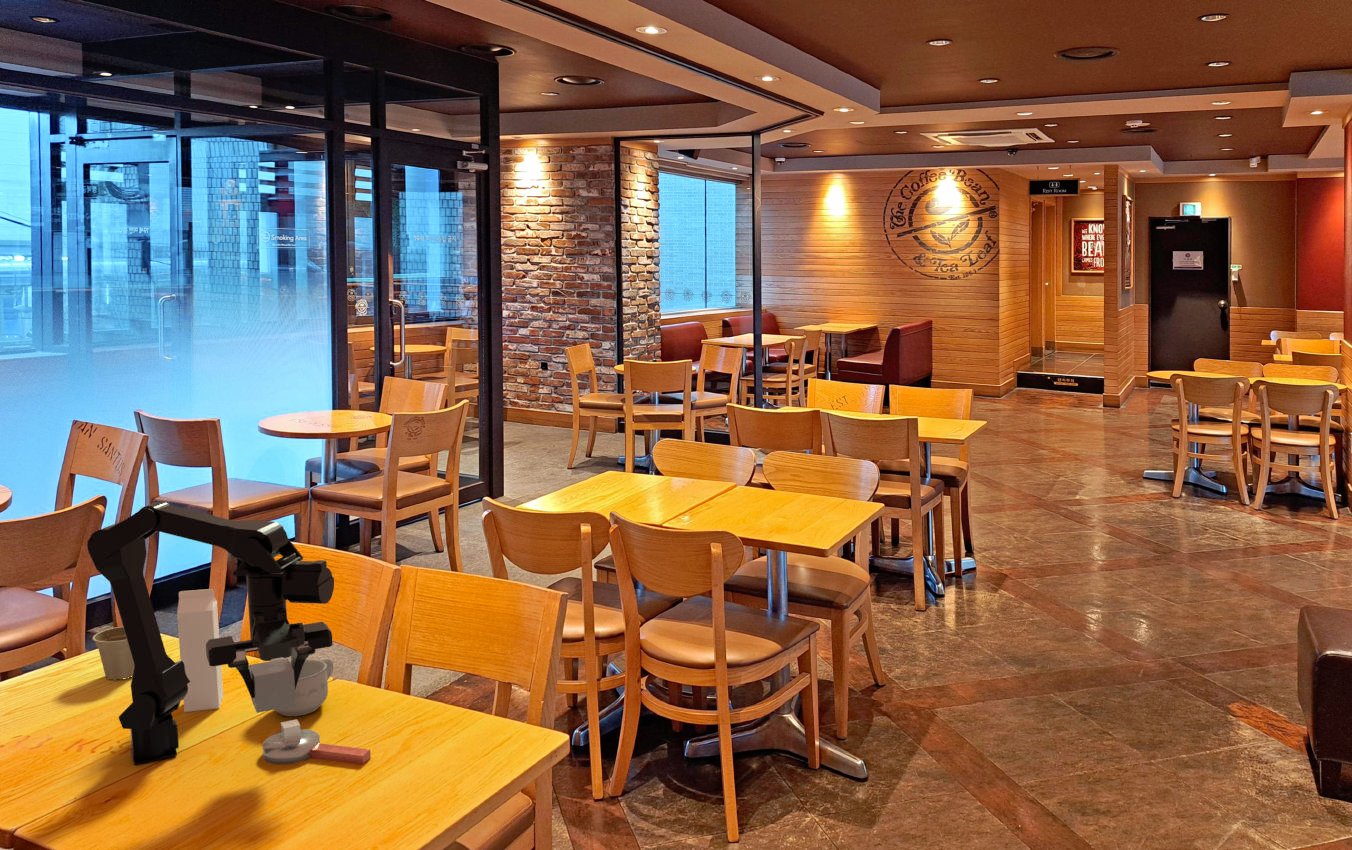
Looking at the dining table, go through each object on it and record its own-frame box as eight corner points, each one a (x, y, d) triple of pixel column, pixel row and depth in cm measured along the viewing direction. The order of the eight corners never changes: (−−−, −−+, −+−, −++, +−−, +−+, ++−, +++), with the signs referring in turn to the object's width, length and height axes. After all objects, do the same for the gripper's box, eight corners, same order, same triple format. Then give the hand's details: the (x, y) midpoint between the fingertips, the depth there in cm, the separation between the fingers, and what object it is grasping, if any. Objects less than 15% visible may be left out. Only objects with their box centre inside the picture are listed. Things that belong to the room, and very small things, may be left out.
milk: (219, 708, 197) (211, 593, 194) (183, 712, 196) (175, 596, 192) (223, 696, 203) (216, 584, 200) (188, 699, 202) (181, 586, 198)
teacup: (289, 727, 189) (286, 684, 188) (254, 712, 196) (252, 670, 195) (355, 702, 200) (353, 661, 199) (320, 688, 207) (318, 648, 206)
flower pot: (85, 682, 210) (81, 640, 209) (117, 665, 219) (114, 624, 218) (128, 685, 208) (124, 642, 207) (159, 667, 218) (156, 626, 216)
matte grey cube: (256, 712, 171) (254, 676, 170) (251, 699, 176) (249, 664, 175) (295, 705, 174) (293, 669, 173) (289, 692, 179) (287, 658, 178)
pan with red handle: (251, 760, 177) (250, 732, 176) (284, 737, 185) (282, 710, 184) (352, 773, 172) (350, 744, 171) (380, 749, 181) (379, 721, 180)
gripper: (209, 625, 161) (216, 723, 163) (337, 605, 170) (342, 699, 172) (202, 605, 171) (209, 698, 173) (323, 587, 180) (328, 676, 182)
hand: (273, 693), depth 175 cm, fingers closed on matte grey cube, 6 cm apart
